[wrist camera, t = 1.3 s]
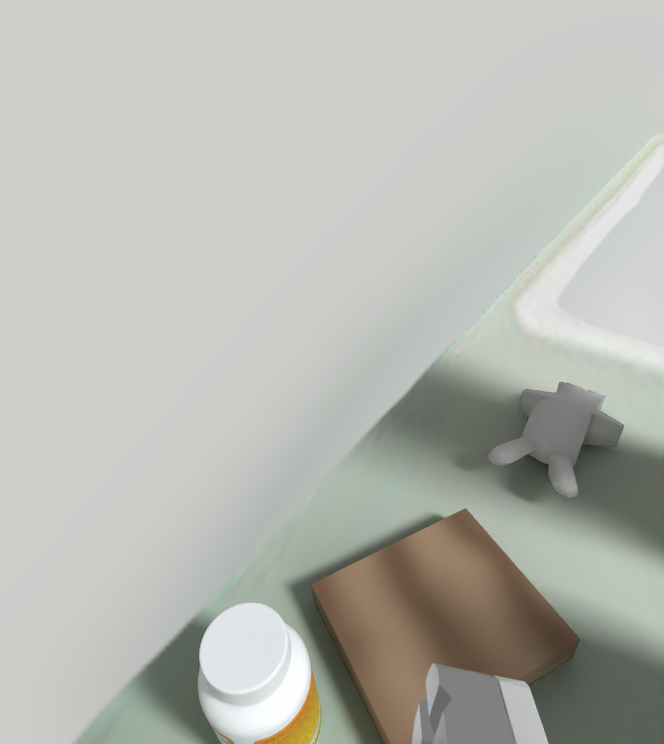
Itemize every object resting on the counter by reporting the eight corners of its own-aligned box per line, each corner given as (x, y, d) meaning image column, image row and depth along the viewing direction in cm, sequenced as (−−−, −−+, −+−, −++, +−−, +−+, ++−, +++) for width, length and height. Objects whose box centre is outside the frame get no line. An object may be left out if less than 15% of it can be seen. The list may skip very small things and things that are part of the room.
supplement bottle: (328, 678, 36) (312, 591, 29) (315, 791, 31) (292, 719, 24) (239, 669, 37) (204, 582, 30) (213, 778, 32) (163, 705, 25)
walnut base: (463, 526, 45) (465, 508, 43) (572, 656, 36) (580, 639, 34) (314, 601, 40) (311, 584, 39) (396, 770, 31) (396, 756, 30)
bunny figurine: (640, 392, 50) (593, 478, 40) (624, 434, 53) (576, 524, 43) (543, 360, 55) (480, 429, 46) (533, 399, 58) (471, 473, 48)
